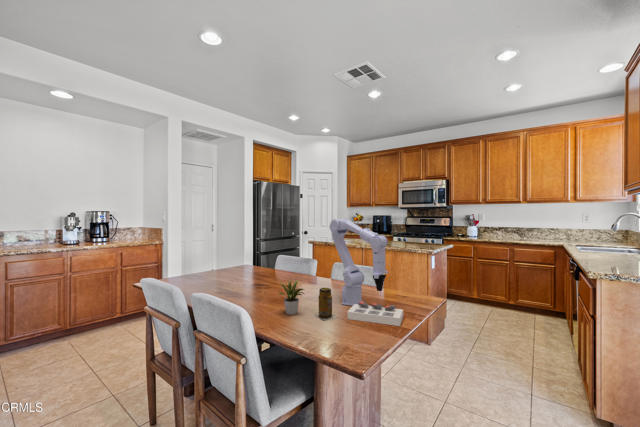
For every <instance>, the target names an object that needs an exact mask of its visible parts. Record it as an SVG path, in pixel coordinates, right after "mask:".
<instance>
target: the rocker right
mask: <svg viewBox="0 0 640 427" xmlns="http://www.w3.org/2000/svg"><path fill="white" fill-rule="evenodd" d="M393 309H396V304H392V305H385V310H389V311H391V310H393Z"/></svg>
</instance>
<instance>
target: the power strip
mask: <svg viewBox="0 0 640 427" xmlns="http://www.w3.org/2000/svg"><path fill="white" fill-rule="evenodd" d="M385 307H386V306H385ZM385 307H384V306H382V308H381V309H375V308H374V307H372V305H368V307H367V308H365V307H362V306H359V305H358V304H354V305H353V306H351V307H350V308H349V310H347V320H352V321H358V322H359V321H360V322H366V323H374V324H381V325H390V326H395V327H396V326H397V327H401V324H402V321H403V319H404V309H402V308H395V309H393V310H391V311H389V310H385Z"/></svg>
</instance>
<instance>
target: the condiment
mask: <svg viewBox="0 0 640 427" xmlns="http://www.w3.org/2000/svg"><path fill="white" fill-rule="evenodd" d="M318 292H319V295H318V313H315V314H314V315H315V316H317V317H318V318H319V319H321V320H322V321H327V320H334V319H337V318H339V317H338V316H336V315H335V314H333V295H332V289H331V288H330V287H321V288H319V291H318Z"/></svg>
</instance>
